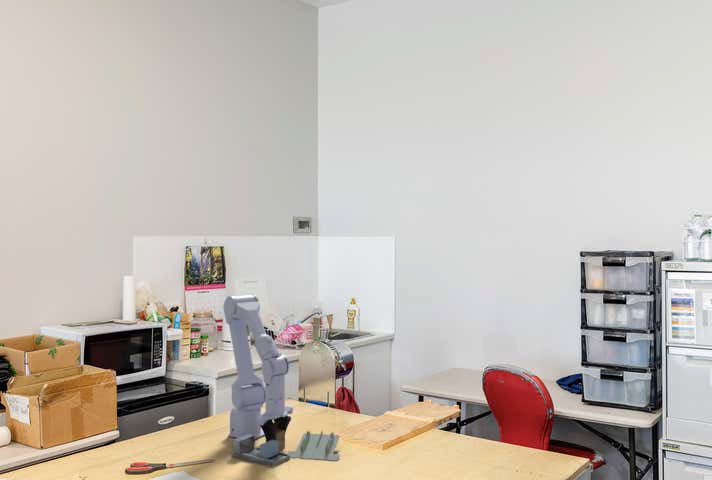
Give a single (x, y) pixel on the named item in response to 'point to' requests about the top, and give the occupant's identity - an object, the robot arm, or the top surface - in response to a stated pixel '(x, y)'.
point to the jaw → (269, 449)
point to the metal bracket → (317, 447)
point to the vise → (254, 452)
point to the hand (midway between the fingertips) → (275, 443)
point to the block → (280, 438)
